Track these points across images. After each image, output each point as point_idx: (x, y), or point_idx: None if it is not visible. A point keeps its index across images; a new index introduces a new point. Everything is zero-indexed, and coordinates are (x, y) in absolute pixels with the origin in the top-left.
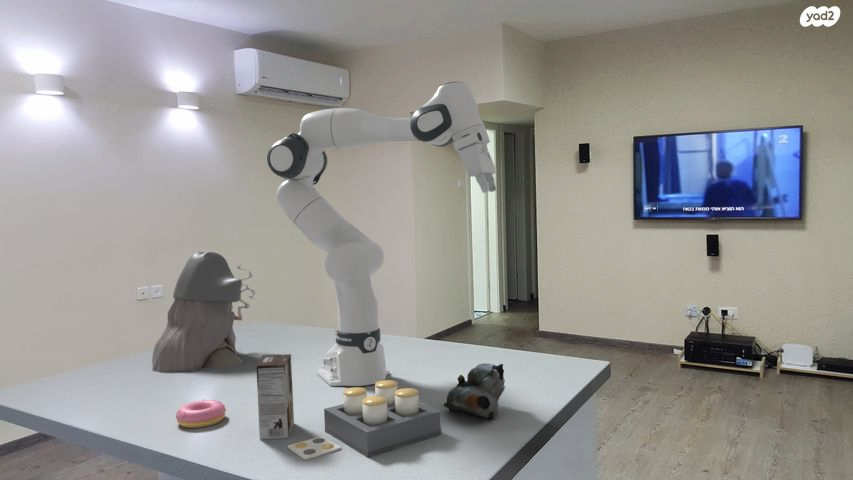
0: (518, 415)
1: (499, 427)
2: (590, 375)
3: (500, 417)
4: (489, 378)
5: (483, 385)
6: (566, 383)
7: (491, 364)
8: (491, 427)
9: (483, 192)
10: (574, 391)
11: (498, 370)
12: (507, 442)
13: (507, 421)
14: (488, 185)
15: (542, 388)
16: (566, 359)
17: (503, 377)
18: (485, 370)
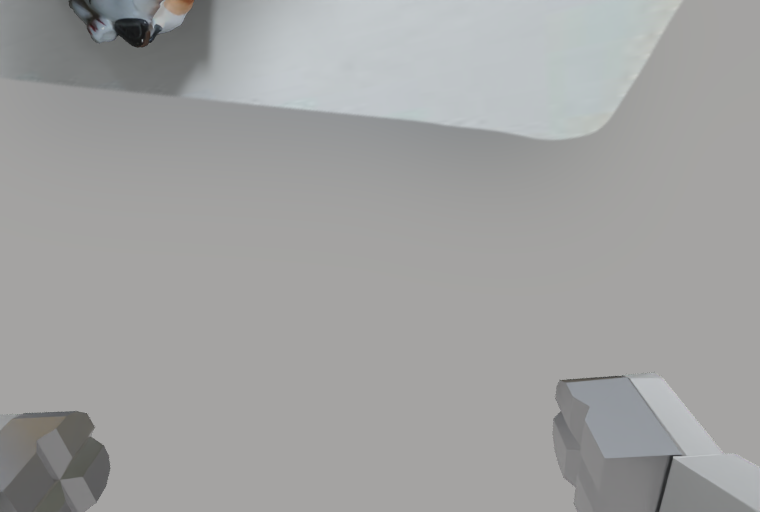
0: (183, 41)
1: None
2: (488, 126)
3: None
4: (83, 20)
5: (70, 3)
6: (421, 90)
7: (138, 10)
8: None
9: (2, 419)
10: (371, 114)
11: (122, 37)
12: (47, 58)
13: None
14: (682, 473)
15: (371, 49)
16: (626, 54)
17: (162, 32)
18: (94, 5)
